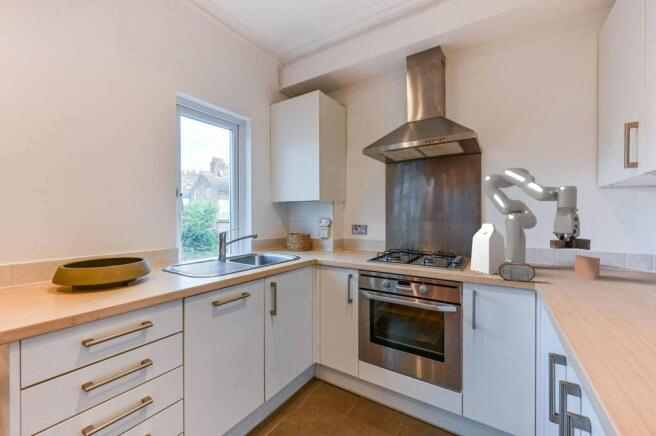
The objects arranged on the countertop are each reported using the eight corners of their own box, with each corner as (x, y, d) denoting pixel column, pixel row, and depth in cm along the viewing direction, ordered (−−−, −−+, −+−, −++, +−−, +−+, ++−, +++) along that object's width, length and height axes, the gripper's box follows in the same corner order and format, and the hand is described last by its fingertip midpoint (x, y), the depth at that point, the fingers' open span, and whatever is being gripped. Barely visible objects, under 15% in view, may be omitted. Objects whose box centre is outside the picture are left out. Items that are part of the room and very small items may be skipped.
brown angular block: (564, 250, 134) (564, 239, 134) (542, 246, 146) (542, 237, 145) (590, 249, 135) (590, 239, 135) (566, 246, 147) (566, 237, 147)
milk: (505, 273, 149) (506, 224, 149) (488, 274, 146) (489, 224, 145) (486, 268, 161) (487, 223, 160) (470, 269, 157) (471, 223, 157)
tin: (533, 280, 133) (533, 263, 133) (536, 282, 130) (536, 264, 130) (497, 278, 137) (497, 261, 137) (499, 280, 134) (499, 262, 134)
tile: (594, 278, 137) (595, 258, 137) (574, 274, 147) (574, 255, 147) (599, 278, 137) (599, 258, 137) (578, 274, 147) (579, 255, 147)
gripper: (590, 211, 132) (589, 250, 133) (557, 211, 148) (557, 245, 149) (575, 211, 131) (574, 250, 132) (545, 210, 148) (544, 245, 148)
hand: (565, 247), depth 140 cm, fingers closed on brown angular block, 3 cm apart
